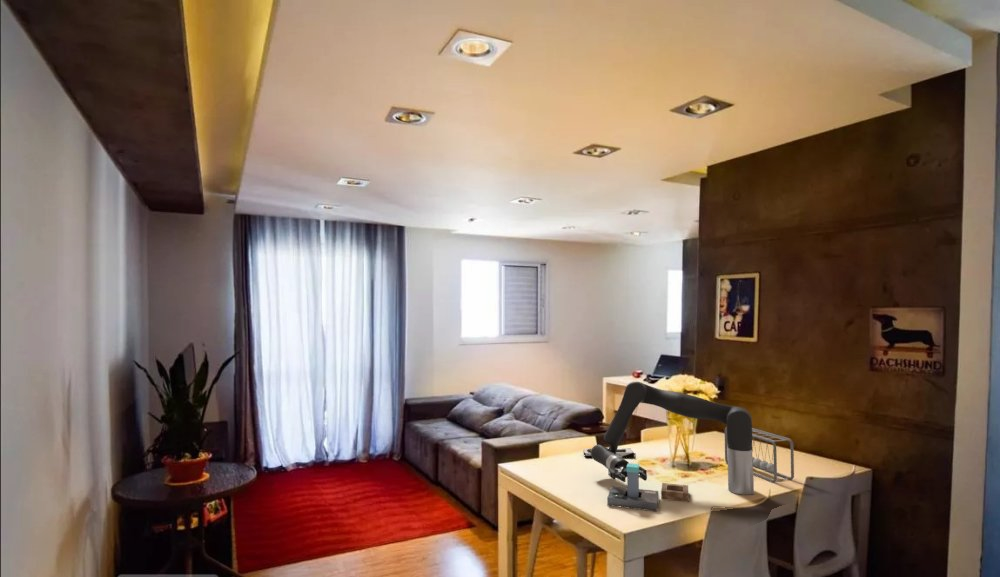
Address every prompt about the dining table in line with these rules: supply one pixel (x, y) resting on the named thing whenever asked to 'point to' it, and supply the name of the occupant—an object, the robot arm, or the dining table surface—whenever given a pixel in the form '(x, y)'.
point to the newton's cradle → (763, 464)
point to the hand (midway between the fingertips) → (635, 478)
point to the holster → (674, 492)
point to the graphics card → (620, 452)
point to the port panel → (633, 499)
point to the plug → (633, 480)
